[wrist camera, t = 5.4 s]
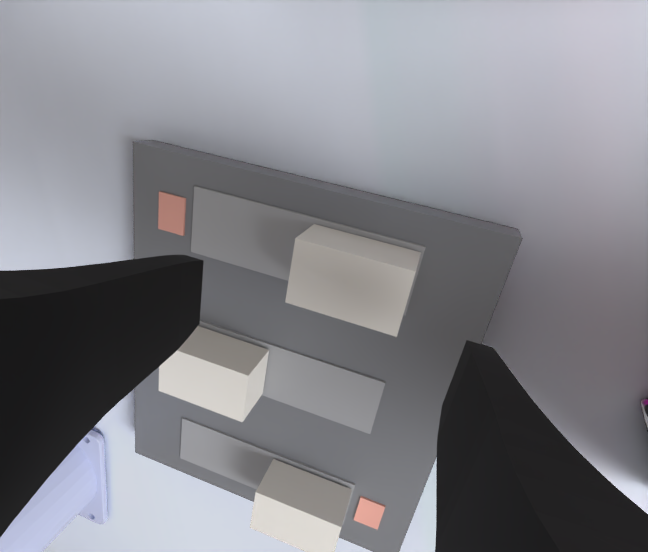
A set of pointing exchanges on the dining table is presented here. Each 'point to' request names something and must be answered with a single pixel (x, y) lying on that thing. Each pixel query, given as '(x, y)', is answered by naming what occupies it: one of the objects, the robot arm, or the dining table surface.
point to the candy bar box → (645, 411)
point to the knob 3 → (351, 278)
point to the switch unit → (313, 333)
